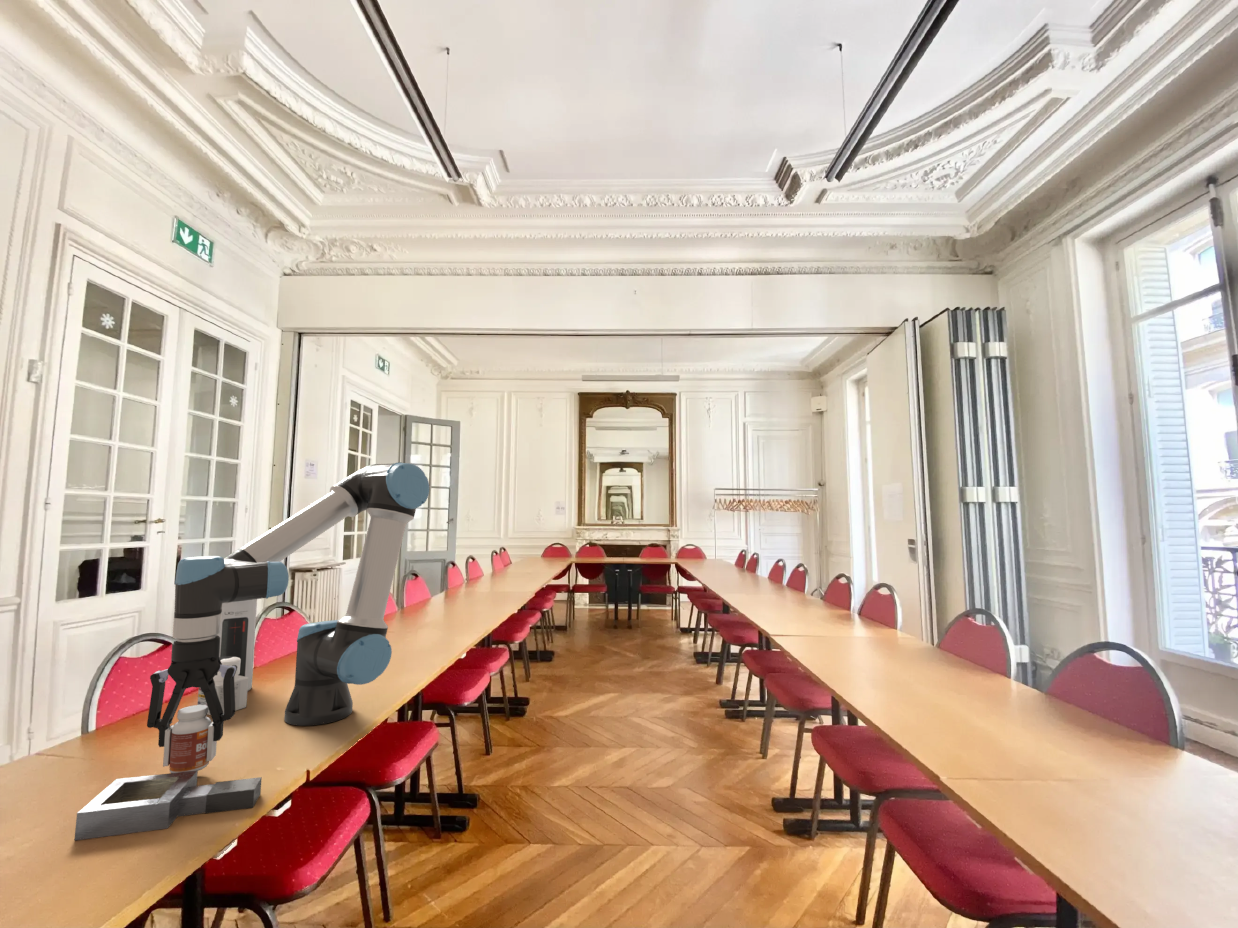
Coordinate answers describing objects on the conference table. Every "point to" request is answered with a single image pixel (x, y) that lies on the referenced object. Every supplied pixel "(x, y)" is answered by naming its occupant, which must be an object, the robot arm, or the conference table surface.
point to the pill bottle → (190, 740)
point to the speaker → (239, 634)
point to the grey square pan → (159, 803)
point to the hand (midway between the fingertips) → (190, 760)
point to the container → (239, 685)
